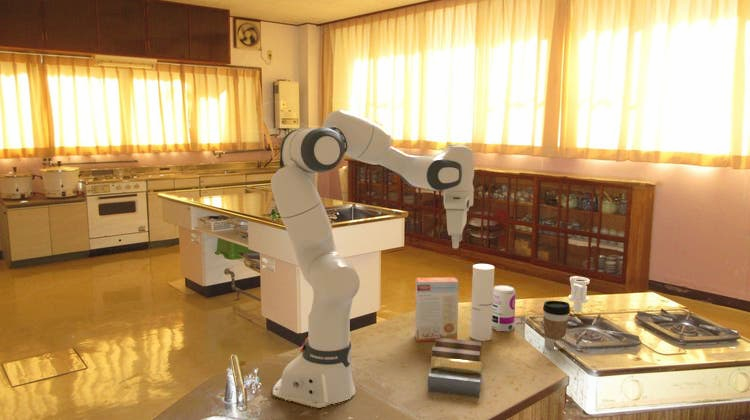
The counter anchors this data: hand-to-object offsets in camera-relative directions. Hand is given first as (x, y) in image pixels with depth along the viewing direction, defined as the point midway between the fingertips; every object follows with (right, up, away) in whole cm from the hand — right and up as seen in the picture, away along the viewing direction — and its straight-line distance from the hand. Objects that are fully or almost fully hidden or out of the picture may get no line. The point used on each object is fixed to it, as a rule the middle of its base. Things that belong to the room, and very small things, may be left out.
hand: (457, 244), depth 165 cm
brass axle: (-2, -33, -13) cm, 36 cm away
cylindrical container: (+12, -34, +23) cm, 42 cm away
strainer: (+54, -30, +46) cm, 77 cm away
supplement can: (+21, -32, +30) cm, 49 cm away
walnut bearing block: (0, -37, +1) cm, 37 cm away
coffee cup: (+34, -35, +15) cm, 51 cm away
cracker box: (-4, -34, +21) cm, 40 cm away
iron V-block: (-2, -39, -12) cm, 41 cm away
